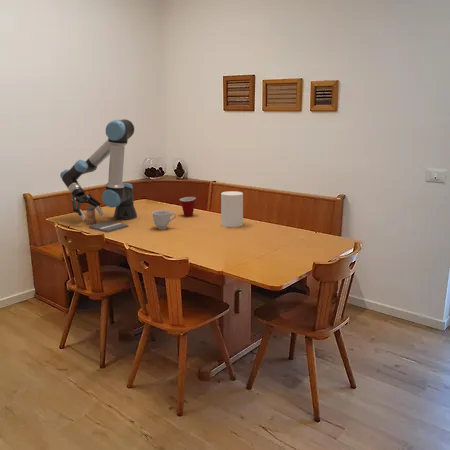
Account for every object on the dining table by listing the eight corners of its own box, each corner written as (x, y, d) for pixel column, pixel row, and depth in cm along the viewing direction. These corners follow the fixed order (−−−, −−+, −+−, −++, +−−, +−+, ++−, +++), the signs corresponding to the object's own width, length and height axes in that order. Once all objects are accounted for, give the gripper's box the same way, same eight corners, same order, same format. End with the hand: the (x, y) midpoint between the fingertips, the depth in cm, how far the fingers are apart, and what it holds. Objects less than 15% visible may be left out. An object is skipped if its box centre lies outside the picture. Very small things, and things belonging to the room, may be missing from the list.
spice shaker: (92, 222, 313) (91, 205, 310) (97, 223, 310) (96, 206, 307) (86, 223, 309) (84, 207, 306) (91, 225, 306) (89, 208, 303)
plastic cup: (177, 214, 332) (177, 197, 329) (192, 213, 336) (192, 196, 333) (183, 218, 323) (182, 200, 320) (198, 216, 327) (198, 199, 324)
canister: (234, 228, 297) (234, 196, 292) (217, 225, 305) (216, 193, 300) (247, 223, 307) (247, 192, 302) (229, 220, 315) (229, 190, 310)
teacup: (175, 230, 293) (174, 214, 290) (150, 230, 293) (149, 214, 290) (177, 225, 304) (177, 209, 302) (153, 225, 305) (153, 209, 302)
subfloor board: (108, 222, 312) (108, 220, 311) (128, 226, 301) (128, 224, 301) (88, 227, 299) (88, 225, 299) (108, 232, 289) (108, 230, 289)
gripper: (89, 191, 324) (106, 216, 319) (57, 197, 304) (74, 224, 300) (94, 184, 319) (111, 209, 315) (62, 190, 300) (79, 217, 295)
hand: (93, 217), depth 307 cm, fingers open, 13 cm apart
